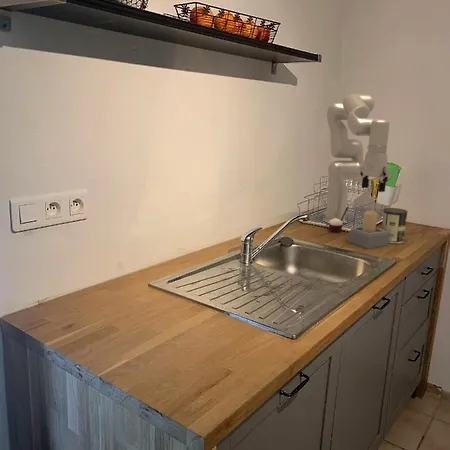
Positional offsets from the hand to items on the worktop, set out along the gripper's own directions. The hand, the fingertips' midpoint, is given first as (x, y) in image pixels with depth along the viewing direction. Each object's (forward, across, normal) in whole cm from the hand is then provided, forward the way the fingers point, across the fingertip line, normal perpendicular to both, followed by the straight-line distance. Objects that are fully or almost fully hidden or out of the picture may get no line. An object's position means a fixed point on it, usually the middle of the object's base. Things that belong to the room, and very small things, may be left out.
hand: (373, 189), depth 214 cm
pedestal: (+24, 0, 0) cm, 24 cm away
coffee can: (+24, +1, +14) cm, 28 cm away
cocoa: (+24, -22, +1) cm, 33 cm away
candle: (+19, 0, 0) cm, 19 cm away
